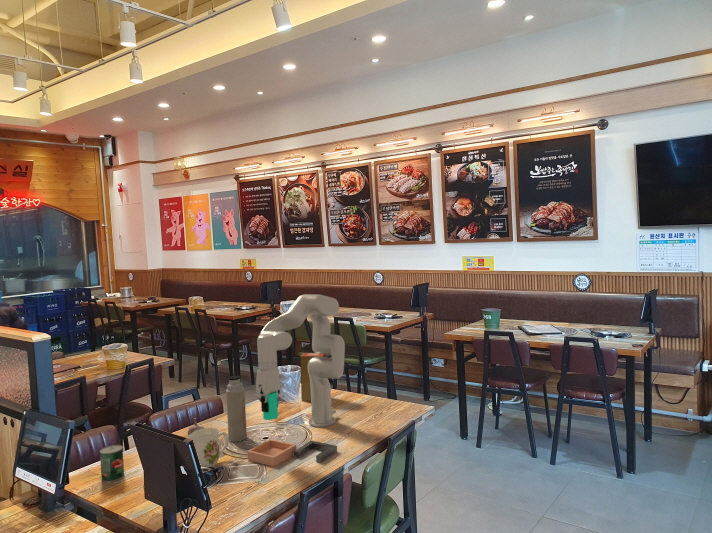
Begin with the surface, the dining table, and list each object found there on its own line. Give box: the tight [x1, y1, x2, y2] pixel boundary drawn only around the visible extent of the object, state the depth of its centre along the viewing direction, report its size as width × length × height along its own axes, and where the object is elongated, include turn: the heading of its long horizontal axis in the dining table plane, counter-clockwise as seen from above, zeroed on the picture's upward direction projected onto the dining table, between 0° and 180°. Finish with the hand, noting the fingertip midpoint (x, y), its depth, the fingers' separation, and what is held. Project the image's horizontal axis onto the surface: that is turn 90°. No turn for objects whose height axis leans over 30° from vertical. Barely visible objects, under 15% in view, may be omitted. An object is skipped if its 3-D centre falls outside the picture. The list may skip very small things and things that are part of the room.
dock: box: [293, 440, 338, 464], centre depth 208 cm, size 12×13×2 cm
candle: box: [262, 391, 279, 421], centre depth 207 cm, size 6×6×12 cm
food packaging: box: [299, 352, 328, 402], centre depth 282 cm, size 13×9×25 cm
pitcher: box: [186, 427, 229, 468], centre depth 203 cm, size 11×18×14 cm, turn 138°
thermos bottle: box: [225, 375, 248, 442], centre depth 228 cm, size 8×8×28 cm
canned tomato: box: [99, 444, 125, 483], centre depth 194 cm, size 8×8×11 cm
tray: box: [246, 438, 297, 467], centre depth 208 cm, size 14×14×4 cm
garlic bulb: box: [187, 417, 205, 436], centre depth 235 cm, size 8×7×8 cm
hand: (270, 409), depth 207 cm, fingers closed on candle, 5 cm apart
